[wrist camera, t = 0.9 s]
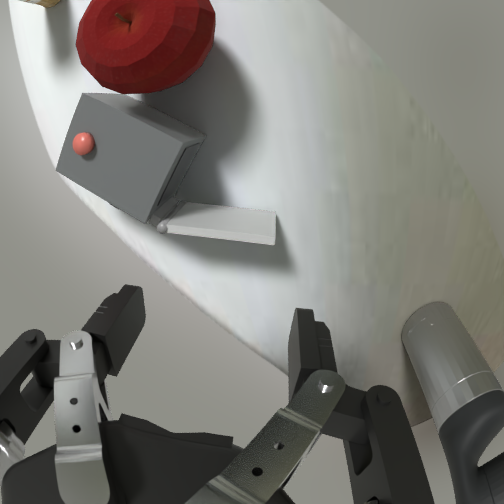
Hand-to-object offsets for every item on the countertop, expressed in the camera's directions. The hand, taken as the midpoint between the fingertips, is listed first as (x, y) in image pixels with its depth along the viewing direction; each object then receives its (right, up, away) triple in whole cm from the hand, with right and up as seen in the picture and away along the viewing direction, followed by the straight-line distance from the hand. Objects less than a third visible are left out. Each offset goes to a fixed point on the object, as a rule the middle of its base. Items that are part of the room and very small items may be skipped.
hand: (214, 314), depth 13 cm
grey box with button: (-10, +15, +18) cm, 25 cm away
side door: (-1, +7, +20) cm, 21 cm away
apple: (-7, +25, +13) cm, 29 cm away
